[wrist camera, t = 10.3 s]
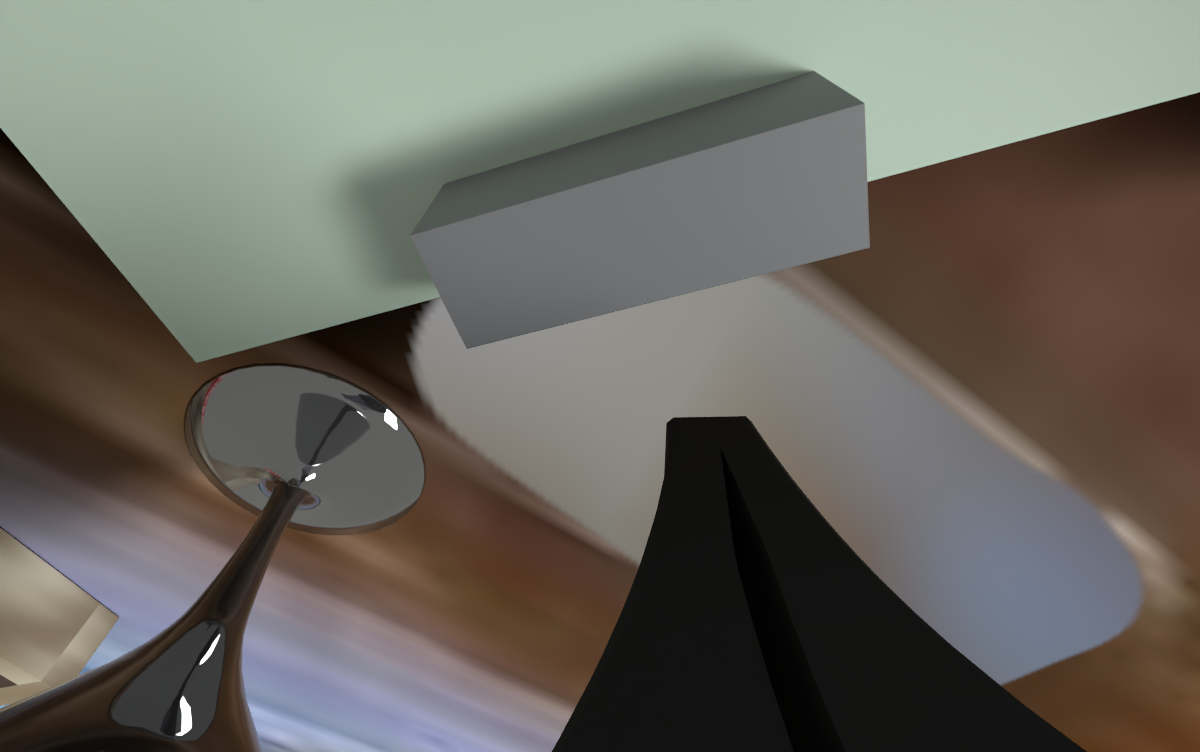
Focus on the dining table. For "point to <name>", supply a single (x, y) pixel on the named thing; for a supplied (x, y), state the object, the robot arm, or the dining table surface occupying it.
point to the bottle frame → (43, 624)
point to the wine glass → (236, 560)
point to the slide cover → (527, 139)
